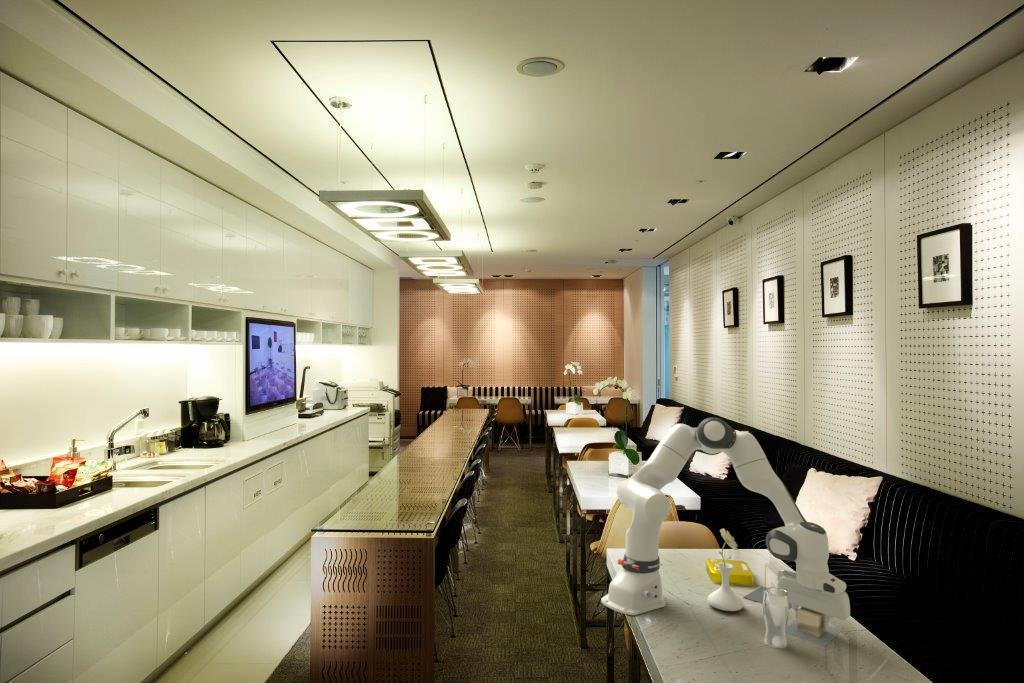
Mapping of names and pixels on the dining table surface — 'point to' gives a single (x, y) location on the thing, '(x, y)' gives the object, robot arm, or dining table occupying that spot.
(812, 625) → the light wood cube
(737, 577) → the element tile
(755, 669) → the dining table surface
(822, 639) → the grey flat slab
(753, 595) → the pad
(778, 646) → the beer glass
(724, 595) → the flower in vase
